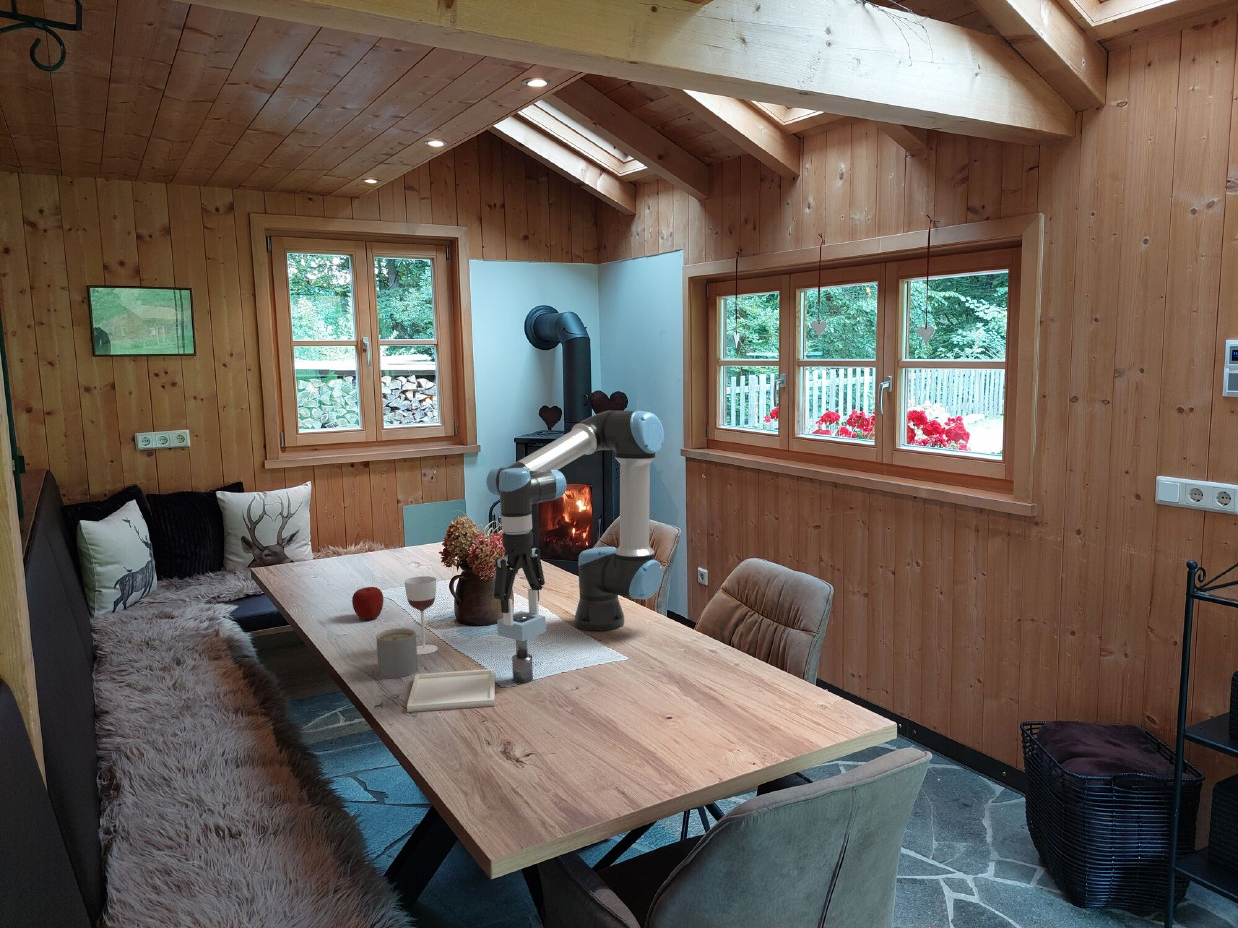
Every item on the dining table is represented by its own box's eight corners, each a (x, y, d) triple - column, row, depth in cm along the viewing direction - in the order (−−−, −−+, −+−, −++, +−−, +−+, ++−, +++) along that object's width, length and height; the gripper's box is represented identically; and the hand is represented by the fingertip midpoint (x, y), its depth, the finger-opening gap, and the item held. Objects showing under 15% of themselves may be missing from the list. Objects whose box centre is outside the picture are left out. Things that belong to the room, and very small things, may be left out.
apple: (346, 621, 268) (344, 590, 267) (366, 612, 277) (364, 582, 275) (371, 624, 264) (369, 592, 263) (390, 615, 273) (389, 584, 272)
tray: (495, 674, 221) (495, 668, 220) (494, 705, 201) (494, 699, 201) (415, 679, 218) (415, 674, 218) (407, 712, 198) (406, 705, 198)
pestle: (532, 675, 219) (530, 612, 217) (533, 682, 214) (530, 618, 212) (512, 676, 219) (510, 614, 217) (513, 683, 214) (510, 620, 212)
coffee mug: (423, 672, 223) (421, 635, 222) (385, 680, 218) (383, 643, 217) (406, 657, 234) (404, 622, 233) (369, 665, 229) (367, 629, 228)
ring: (546, 631, 216) (545, 616, 215) (522, 641, 209) (521, 625, 209) (521, 625, 221) (520, 610, 221) (497, 635, 215) (497, 619, 214)
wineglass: (432, 655, 236) (429, 584, 233) (403, 653, 238) (399, 583, 235) (444, 645, 244) (440, 576, 241) (415, 643, 245) (412, 575, 243)
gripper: (535, 521, 222) (539, 606, 225) (474, 537, 206) (479, 628, 209) (557, 524, 218) (560, 610, 221) (496, 541, 201) (501, 634, 204)
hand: (521, 619), depth 215 cm, fingers closed on ring, 8 cm apart
